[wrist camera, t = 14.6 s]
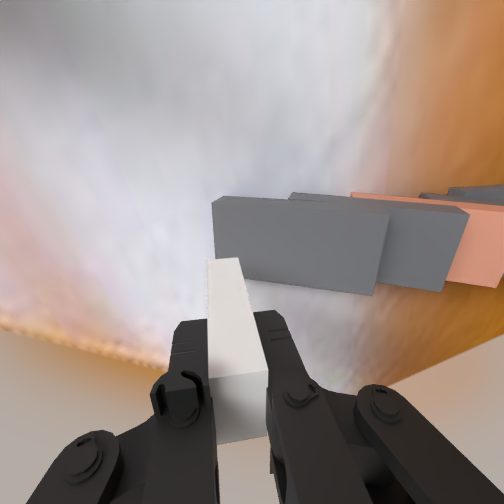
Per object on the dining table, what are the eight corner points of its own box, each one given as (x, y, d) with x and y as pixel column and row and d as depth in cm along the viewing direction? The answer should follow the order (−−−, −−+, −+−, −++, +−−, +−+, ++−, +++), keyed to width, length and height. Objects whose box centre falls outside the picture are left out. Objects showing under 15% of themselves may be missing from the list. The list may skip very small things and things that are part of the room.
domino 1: (223, 196, 18) (383, 205, 16) (226, 262, 20) (368, 279, 18) (211, 202, 16) (389, 214, 14) (216, 274, 18) (372, 296, 16)
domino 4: (443, 186, 21) (546, 180, 23) (426, 243, 23) (522, 235, 25) (465, 191, 19) (576, 184, 21) (445, 253, 22) (547, 243, 23)
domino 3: (351, 192, 20) (511, 206, 17) (338, 253, 22) (480, 273, 19) (353, 198, 18) (532, 215, 16) (339, 264, 20) (496, 288, 18)
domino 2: (292, 192, 19) (455, 205, 16) (287, 256, 21) (430, 277, 18) (288, 198, 17) (470, 214, 15) (282, 267, 19) (441, 292, 17)
